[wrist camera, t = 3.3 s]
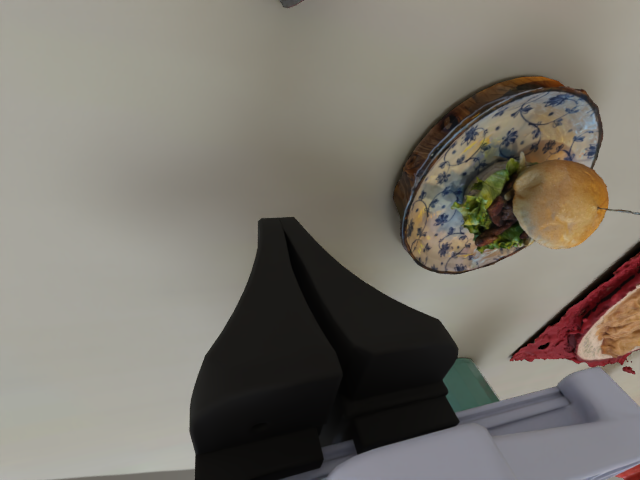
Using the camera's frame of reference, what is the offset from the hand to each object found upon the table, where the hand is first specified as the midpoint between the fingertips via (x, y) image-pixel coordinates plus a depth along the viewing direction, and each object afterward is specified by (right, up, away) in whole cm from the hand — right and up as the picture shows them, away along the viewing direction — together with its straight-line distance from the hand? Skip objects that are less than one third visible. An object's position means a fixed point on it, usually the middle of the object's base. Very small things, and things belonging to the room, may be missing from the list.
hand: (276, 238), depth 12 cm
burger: (+11, +3, +7) cm, 14 cm away
